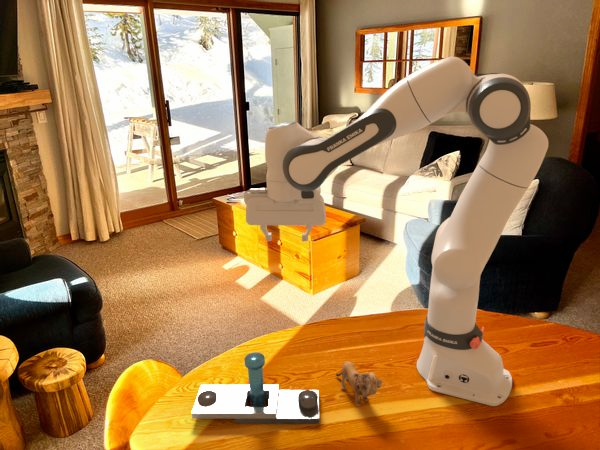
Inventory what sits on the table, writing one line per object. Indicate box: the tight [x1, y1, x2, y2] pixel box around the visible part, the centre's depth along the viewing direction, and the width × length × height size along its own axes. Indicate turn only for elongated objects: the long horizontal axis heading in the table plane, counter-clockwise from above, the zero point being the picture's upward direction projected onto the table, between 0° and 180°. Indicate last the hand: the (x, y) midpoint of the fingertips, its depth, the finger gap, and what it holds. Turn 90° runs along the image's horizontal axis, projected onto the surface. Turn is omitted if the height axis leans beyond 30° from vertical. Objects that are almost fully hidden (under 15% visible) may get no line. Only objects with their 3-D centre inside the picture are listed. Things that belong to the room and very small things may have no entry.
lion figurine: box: [335, 360, 383, 408], centre depth 108 cm, size 15×5×9 cm, turn 35°
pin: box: [244, 351, 266, 407], centre depth 103 cm, size 4×4×14 cm
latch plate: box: [191, 384, 320, 425], centre depth 105 cm, size 28×9×4 cm, turn 88°
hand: (286, 240), depth 119 cm, fingers open, 8 cm apart
